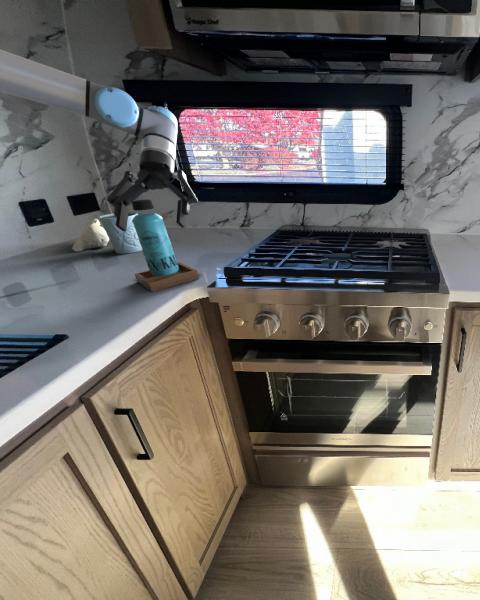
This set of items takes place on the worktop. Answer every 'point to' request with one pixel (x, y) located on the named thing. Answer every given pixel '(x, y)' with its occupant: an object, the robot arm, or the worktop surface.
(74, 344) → the worktop surface
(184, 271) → the brown wooden shallow tray
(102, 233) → the cream animal figurine
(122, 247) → the light blue embossed planter
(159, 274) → the beverage bottle
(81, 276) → the worktop surface
